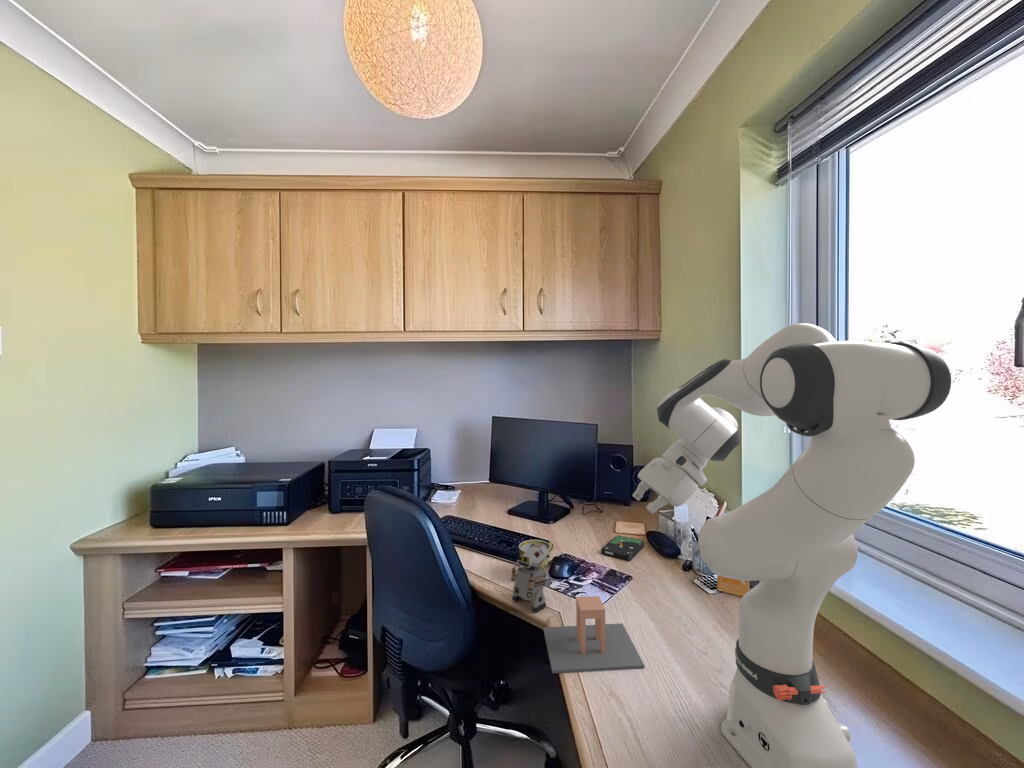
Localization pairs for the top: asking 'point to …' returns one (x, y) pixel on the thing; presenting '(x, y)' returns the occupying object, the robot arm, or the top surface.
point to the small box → (732, 586)
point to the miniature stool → (590, 610)
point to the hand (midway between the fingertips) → (641, 504)
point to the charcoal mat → (590, 650)
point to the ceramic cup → (526, 545)
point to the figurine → (531, 576)
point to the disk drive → (623, 548)
